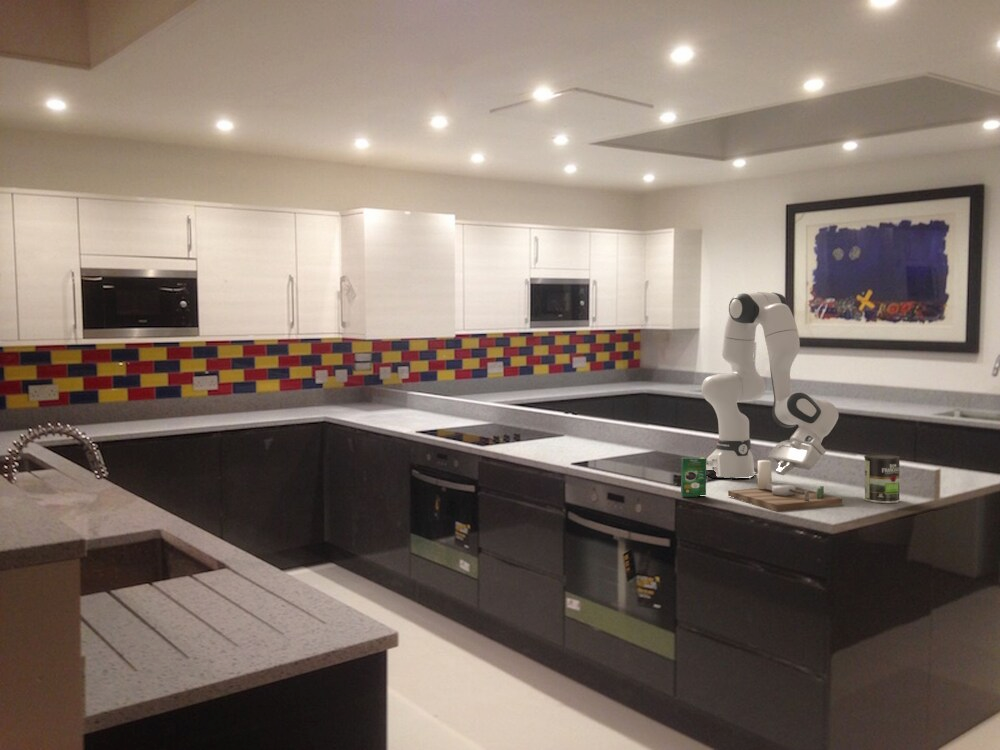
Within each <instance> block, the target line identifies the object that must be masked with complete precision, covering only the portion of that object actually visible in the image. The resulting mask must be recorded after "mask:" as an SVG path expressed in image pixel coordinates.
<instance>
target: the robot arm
mask: <svg viewBox="0 0 1000 750" xmlns="http://www.w3.org/2000/svg"><path fill="white" fill-rule="evenodd" d="M788 303H789V302H788V301H787V298H786V296H784V295H782V294H780V293H778V292H768V291H767V292H766V291H765V292H764V291H758V292H757V291H756V292H751V293H749V292H748V293H740V294H736V295H734V296H733V297H732V298H731V299H730V302H729V304H728V316H727V318H726V319H727V320H726V324H725V328H724V332H723V333H724V335H723V342H722V343H723V344H722V351H721V353H722V354H721V355H722V358H723V359H724V361H725V362H727V363H728V364H730V366H731V373H716V374H712V375H709V376H707V377H705V378H704V379H703V381H702V384H701V395H702V396H703V398H704V399H705V401H706V402H708V403H709V404H710V405H711V406H712V408H713V409H714V411H715V414H716V417H717V422H718V439H716V440H715V444H716V446H715V448H716V449H715V450H714V451H713V452H712V453H711V454H710V455H709V456H708V457H707V458H706V470H714V471H715V472H716V476H717V477H724V478H730V477H749V476H753V475H754V474H755V473H757V472H756V471H755V465H754V456H753V455H754V454H753V453H752V452H751V448H752V447H751V445H752V443H751V439H750V420H749V418H748V417H747V416H746V415H745V414H744V413H742V412H741V411H740V409H739V407H738V403H750V402H753V401H757V400H759V399H762V397H763V396H764V394H765V393H766V392H765V391H766V382H765V380H764V378H763V377H762V376H761V375H760V374H759V372H758V371H757V369H756V367H755V363H754V354H755V353H754V350H755V340H756V331H757V326H758V325H759V324H760V325H761V327H762V329H763V334H764V340H765V344H766V349H767V355H768V360H769V369H770V377H771V378H770V379H771V385H772V391H773V392H772V393H773V404H772V409H771V411H772V412H771V414H772V418H773V420H774V423H776V424H777V425H779V426H780V427H782V428H785V429H790V428H791V429H792V428H794V427H796V426H797V425H798V427H797V429H796V430H795V431H794V433H792V435H791V436H790V438H789V439H785V440H783V441H782V440H781V441H780V442H778V443H777V444H776V445H775V446H774V447H773V448H772V449H771V450H770V451H769V453H768V456H767V457H768V459H770V461H771V462H773V463H776V464H778V466H777V468H776V469H775V472H776V473H777V475H782V476H785V475H786V474H787V472H790V471H791V470H793V469H794V468H798V469H803V470H809V471H810V470H811V469H813V468H815V466H816V465H817V464H818V462H819V461H820V460H821V458H822V456H824V455H825V454H826V452H827V451H826V449H825V447H824V446H823V445H822V441H823V439H824V438H825V437H827V436H828V435H829V434H830V433H831V431H832V430H833V428H834V427H835V425H836V424H837V422H838V419H839V416H840V415H839V411H838V409H837V408H836V406H835V405H834V404H832V403H831V402H829V401H828V400H820V399H816V398H814V397H811V396H809V395H808V394H806V393H803V392H795V393H793V388H792V387H793V386H792V380H791V368H792V365H793V364H794V363H793V362H794V361H795V359H796V358H797V356H798V354H799V352H800V349H801V348H800V345H801V344H800V342H801V341H800V335H799V331H798V328H797V322H796V320H795V318H794V316H793V315H794V314H793V312H792V310H791V309H790V307H789V304H788Z"/></svg>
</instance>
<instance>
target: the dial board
mask: <svg viewBox="0 0 1000 750" xmlns="http://www.w3.org/2000/svg"><path fill="white" fill-rule="evenodd" d="M795 490H797V491H801V492H805V494H804V495H802V494H798V493H795V495H791V496H781V495H774V494H772V490H769V489H759V488H758V487H757V488H747V489H745V488H744V489H735V490H732V489H731V490H727V491H728V493H727V494H728V495H727V496H731V497H734V498H737V499H740V500H743V501H742V502H744V501H746V502H745V503H747V502H749V503H748V504H750V503H752V504H751V505H754V504H755V506H757V505H758V506H757V507H761V508H763V509H767V510H771V511H774V512H784V511H794V510H797V511H798V510H804V509H805V510H806V509H816V508H826V507H836V506H843V498H842V497H838V496H834V495H831V494H825V487H824V485H819V487H818V488H816V491H813V490H810V489H806V488H805V489H804V488H802V487H796V486H795ZM731 497H730V498H731ZM734 498H733V499H734ZM737 499H736V500H737ZM740 500H739V501H740Z"/></svg>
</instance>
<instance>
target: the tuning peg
mask: <svg viewBox="0 0 1000 750" xmlns="http://www.w3.org/2000/svg"><path fill="white" fill-rule="evenodd" d="M772 465H773V464H772V460H769V459H767V460H766V459H761V460H760V459H759V460H757V488H759V489H769V490H772V494H774V495H781V496H791V495H795V493H798V494H802V495H804V494H805V492H801V491H797V490H795V487H796V486H795V485H792V484H779V483H778V484H775V483H773V481H772V480H773V479H772V478H773V477H772V475H773V474H772V473H773V472H772V470H773V469H772V468H773V467H772Z"/></svg>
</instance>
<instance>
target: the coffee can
mask: <svg viewBox="0 0 1000 750" xmlns="http://www.w3.org/2000/svg"><path fill="white" fill-rule="evenodd" d="M863 457H864V501H866V502H868V503H869V502H870V503H876V504H897V503H899V502H900V459H901V457H900V456H898V455H892V454H877V453H875V454H874V453H873V454H865V455H864V456H863Z"/></svg>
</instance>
